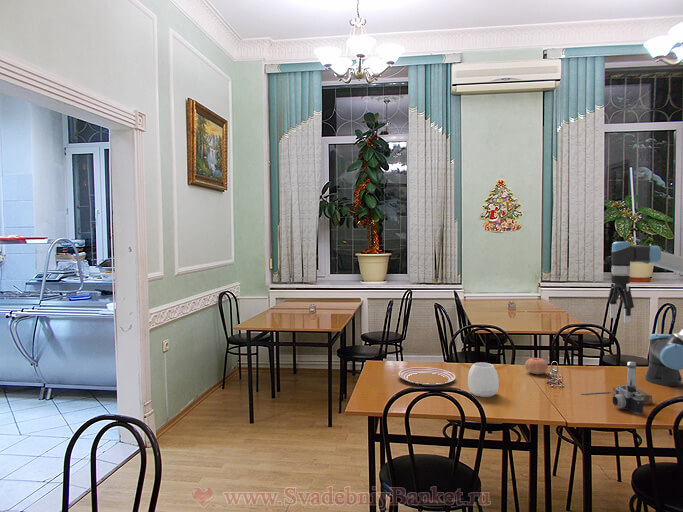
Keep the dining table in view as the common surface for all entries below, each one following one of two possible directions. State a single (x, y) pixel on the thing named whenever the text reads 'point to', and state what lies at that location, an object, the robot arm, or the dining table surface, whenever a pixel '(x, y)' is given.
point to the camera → (628, 399)
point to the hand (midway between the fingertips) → (620, 320)
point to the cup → (483, 380)
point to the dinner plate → (415, 370)
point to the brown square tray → (646, 396)
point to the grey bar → (631, 374)
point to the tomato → (536, 365)
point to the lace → (595, 393)
